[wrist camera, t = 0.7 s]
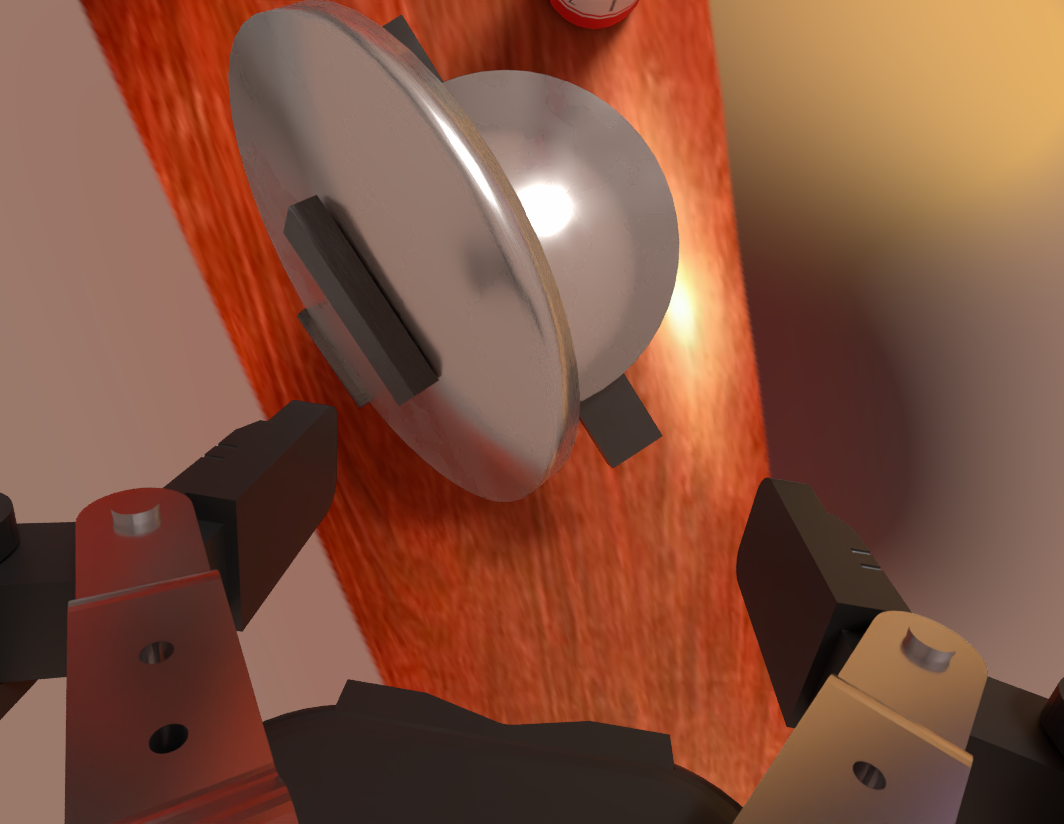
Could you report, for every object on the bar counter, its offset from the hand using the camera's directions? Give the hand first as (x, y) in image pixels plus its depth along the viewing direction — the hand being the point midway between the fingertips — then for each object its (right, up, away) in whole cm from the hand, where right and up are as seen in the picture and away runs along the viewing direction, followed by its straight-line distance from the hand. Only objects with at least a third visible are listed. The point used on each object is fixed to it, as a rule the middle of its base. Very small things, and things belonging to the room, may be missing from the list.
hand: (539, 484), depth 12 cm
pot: (-2, +10, +28) cm, 30 cm away
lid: (-5, +6, +11) cm, 13 cm away
